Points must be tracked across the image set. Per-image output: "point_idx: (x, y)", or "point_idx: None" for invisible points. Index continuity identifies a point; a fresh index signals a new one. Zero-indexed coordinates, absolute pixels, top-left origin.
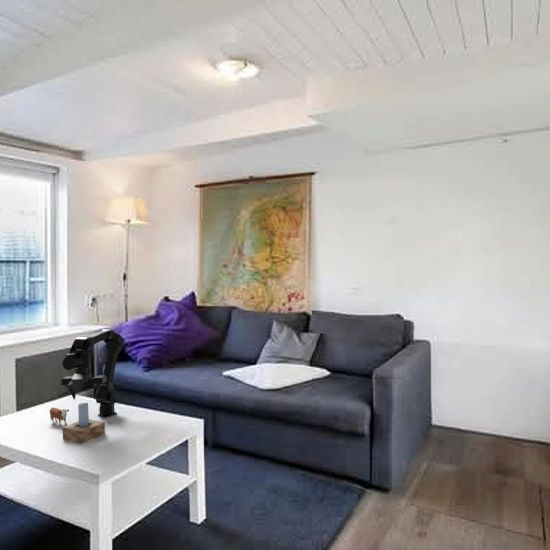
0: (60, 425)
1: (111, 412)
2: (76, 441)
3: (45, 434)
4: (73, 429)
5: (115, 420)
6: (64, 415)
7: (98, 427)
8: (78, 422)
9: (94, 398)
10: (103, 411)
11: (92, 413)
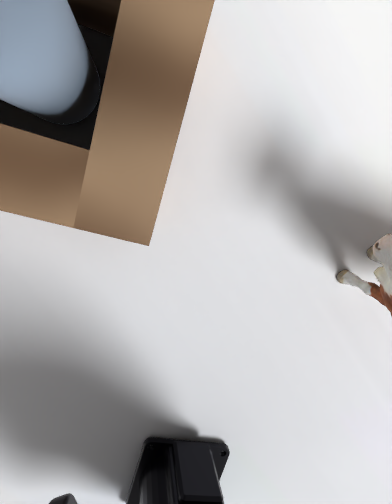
0: (368, 250)
1: (140, 492)
2: None
3: (386, 80)
4: None
5: (50, 417)
6: (383, 240)
7: None
8: (147, 117)
9: (53, 500)
10: (176, 471)
11: (284, 462)
